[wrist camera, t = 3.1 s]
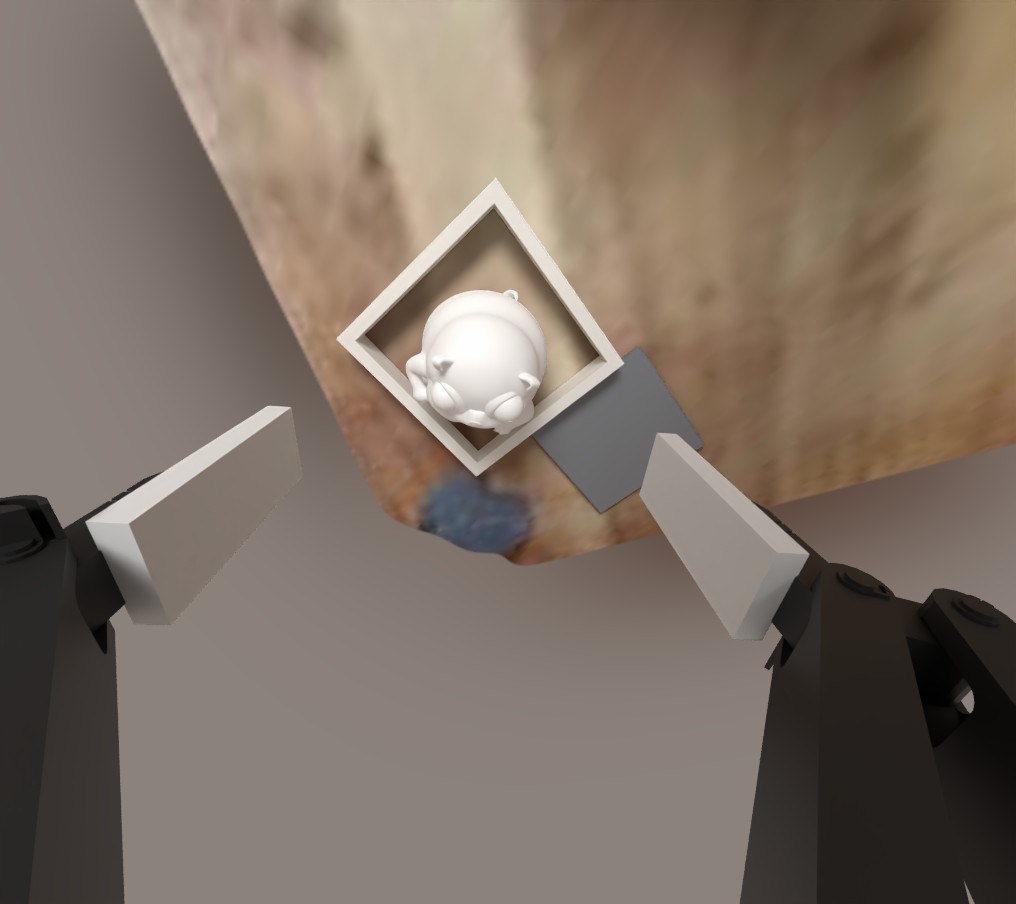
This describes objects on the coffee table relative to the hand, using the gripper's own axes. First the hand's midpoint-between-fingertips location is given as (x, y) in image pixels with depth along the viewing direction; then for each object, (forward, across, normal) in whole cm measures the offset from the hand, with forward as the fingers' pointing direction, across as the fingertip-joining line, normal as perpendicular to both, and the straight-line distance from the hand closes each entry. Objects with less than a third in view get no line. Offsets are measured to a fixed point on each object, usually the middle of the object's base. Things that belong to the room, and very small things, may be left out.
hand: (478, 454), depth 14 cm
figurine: (+21, 0, 0) cm, 21 cm away
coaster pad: (+20, +13, -7) cm, 25 cm away
